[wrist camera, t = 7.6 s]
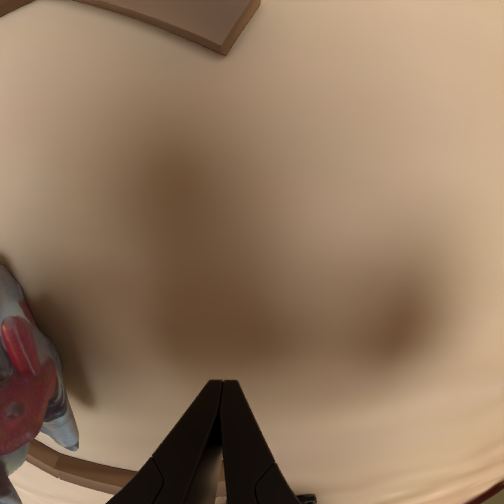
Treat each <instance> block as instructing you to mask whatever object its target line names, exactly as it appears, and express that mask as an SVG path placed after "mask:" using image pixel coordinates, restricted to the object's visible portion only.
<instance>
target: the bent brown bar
mask: <svg viewBox="0 0 504 504" xmlns="http://www.w3.org/2000/svg"><path fill="white" fill-rule="evenodd" d="M32 1H34V0H0V17H1V16H3V15H5V14H7V13H9V12H11V11H13V10H15V9H17V8H19V7H21V6H23V5H25V4H28V3H30V2H32ZM74 1H78V2H82V3H86V4H89V5H93V6H97V7H100V8H104V9H107V10H110V11H114V12H117V13H120V14H123V15H126V16H129V17H132V18H135V19H138V20H141V21H144V22H146V23H149V24H152V25H155V26H157V27H160V28H162V29H165V30H168V31H170V32H173V33H175V34H178V35H180V36H182V37H185V38H187V39H189V40H192V41H194V42H196V43H199V44H201V45H203V46H205V47H208V48H210V49H212V50H214V51H216V52H218V53H220V54H223V55H225V56H226V55H227V53H228V52H229V50H230V49H231V47H232V45H233V44H234V42H235V41H236V39H237V38H238V36H239V35H240V33H241V32H242V30H243V29H244V27H245V26H246V24H247V23H248V21H249V20H250V19H251V17H252V16H253V14H254V13H255V11H256V10H257V9H258V7H259V6H260V1H261V0H74ZM25 460H26V461H28V462H29V463H31V464H33V465H34V466H36V467H38V468H40V469H41V470H43V471H45V472H47V473H49V474H51V475H53V476H54V477H56V478H58V477H59V478H60V479H61V480H64V481H67V482H70V483H73V484H76V485H79V486H83V487H86V488H90V489H93V490H97V491H101V492H105V493H109V494H113V495H116V494H117V493H118V492H119V491H120V490H121V489H122V488H123V487H124V486H125V485H126V484H127V483H128V482H129V481H130V480H131V479H132V478H133V477H134V476H135V475H136V474H137V473H138V472H133V471H128V470H123V469H118V468H113V467H108V466H104V465H100V464H96V463H92V462H88V461H84V460H80V459H76V458H73V457H69V456H66V455H63V454H60V453H58V452H56V451H54V450H52V449H51V448H49V447H47V446H45V445H43V444H42V443H40V442H38V441H37V440H35V439H33V440H32V441H30V443H29V449H28V453H27V456H26V459H25ZM221 496H227V494H226V484H225V474H224V464H223V460H222V463H221V469H220V475H219V481H218V486H217V492H216V497H221Z"/></svg>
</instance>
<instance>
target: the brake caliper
mask: <svg viewBox="0 0 504 504" xmlns="http://www.w3.org/2000/svg"><path fill="white" fill-rule="evenodd" d="M40 431H41V432H43V433H45V434H47V435H49V436H50V437H51V438H52V439H53V440H54V441H55V442H56V443H58V444H59V445H61V446H63V447H65V448H66V449H68V450H71V451H76V450H77V449H78V448H79V441H78V440H79V432H78V428H77V425H76V421H75V418H74V415H73V412H72V410H71V407H70V404H69V401H68V398H67V394H66V390H65V386H64V381H63V372H62V362H61V359H60V357H59V355H58V352H57V351H56V348H55V346H54V344H53V342H52V341H51V340H50V339H49V338H48V337H47V336H46V335H45V334H44V333H42V332H41V331H40V330H39V329H38V328H37V326H36V324H35V322H34V319H33V317H32V314H31V312H30V310H29V308H28V306H27V304H26V302H25V299H24V295H23V291H22V288H21V286H20V284H19V283H18V282H17V281H16V280H15V279H14V277H13V276H12V275H11V274H10V272H9V271H8V270H7V268H6V267H5V266H4V265H1V264H0V504H22V502H21V500H20V498H19V496H18V494H17V492H16V490H15V488H14V487H13V485H12V483H11V482H10V480H9V478H8V476H9V475H10V474H12V473H13V472H14V471H15V470H16V469H18V468H19V467H20V466H21V465H22V464H23V463H24V461H25V459H26V456H27V453H28V449H29V443H30V441H32V440H33V439H34V438H35V437H36V436H37V435H38V433H39V432H40Z"/></svg>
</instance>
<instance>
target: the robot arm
mask: <svg viewBox="0 0 504 504" xmlns="http://www.w3.org/2000/svg"><path fill="white" fill-rule="evenodd" d="M152 457H153V458H152ZM152 457H150V458H149V459H148V461H147V462H146V463H145V464H144V466H143V467H142V468H141V469H140V470H139V472H138V473H137V474H136V475H135V476H134V477H133V478H132V479H131V480H130V481H129V482H128V483H127V484H126V485H125V486H124V487H123V488H122V489H121V490H120V491H119V492H118V493H117V494H116V495H114V496H113V497H112V498H111V499H110V500H109V501H108V502H107V503H106V504H215V498H216V492H217V486H218V481H219V475H220V469H221V463H222V457H223V464H224V474H225V484H226V494H227V500H226V504H316V503H317V501H316V497H314V496H310V497H296V496H295V494H294V493H293V491H292V490H291V488H290V487H289V485H288V484H287V482H286V480H285V478H284V476H283V475H282V473H281V471H280V469H279V467H278V465H277V463H275V459H274V457H273V455H272V453H271V451H270V449H269V447H268V445H267V443H266V441H265V439H264V437H263V434H262V432H261V430H260V428H259V426H258V424H257V422H256V420H255V417H254V415H253V413H252V411H251V409H250V407H249V404H248V402H247V400H246V398H245V396H244V393H243V391H242V389H241V387H240V384H239V382H238V381H237V380H224V381H223V380H209V381H208V382H207V384H206V385H205V386H204V388H203V389H202V390H201V392H200V393H199V395H198V396H197V397H196V399H195V400H194V401H193V403H192V404H191V405H190V406H189V408H188V409H187V410H186V412H185V413H184V414H183V416H182V417H181V418H180V420H179V421H178V422H177V424H176V425H175V426H174V427H173V429H172V430H171V431H170V433H169V434H168V435H167V437H166V438H165V439H164V440H163V442H162V443H161V444H160V446H159V447H158V448H157V449H156V451H155V452H154V453H153V454H152Z"/></svg>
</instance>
